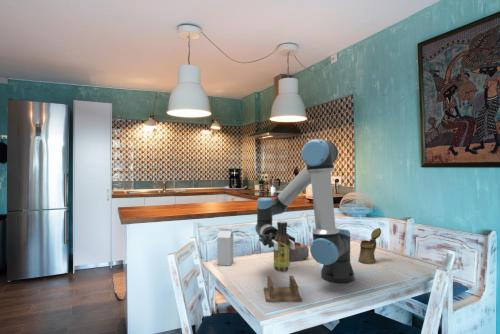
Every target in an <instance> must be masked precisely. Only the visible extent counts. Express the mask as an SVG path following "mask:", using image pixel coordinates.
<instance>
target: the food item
mask: <svg viewBox="0 0 500 334" xmlns="http://www.w3.org/2000/svg"><path fill="white" fill-rule="evenodd" d="M309 252H310V247H308V245H306V244H305V243H301V242H297V241H295V249H292V248H290V247H289V263H290V262H294V261H296V262H300V261H301V260H302V259H303V260H306V259H307V258H309V256H310V253H309Z"/></svg>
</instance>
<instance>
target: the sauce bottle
mask: <svg viewBox="0 0 500 334" xmlns="http://www.w3.org/2000/svg"><path fill="white" fill-rule="evenodd" d="M276 225H277V230H278V231H277V235H276V236H275V241H276V242H277V243H278V250H275V249H274V248H273V270H274V271H276V272H280V273H286V272H288V271H289V268H290V262H289V237H288V235H287V234H288V231H287V230H288V229H287V227H288V222H287V221H285V220H279V221H277V222H276Z"/></svg>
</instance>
